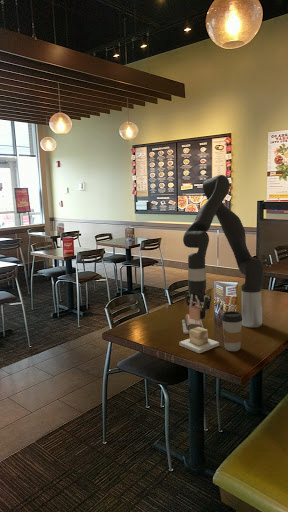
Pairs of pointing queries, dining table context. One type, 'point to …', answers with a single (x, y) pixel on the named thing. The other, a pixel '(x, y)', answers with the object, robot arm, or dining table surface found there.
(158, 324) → the dining table surface
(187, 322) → the packaged product
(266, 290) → the dining table surface
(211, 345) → the plate
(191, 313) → the terracotta block
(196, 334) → the maple block
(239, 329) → the coffee cup
